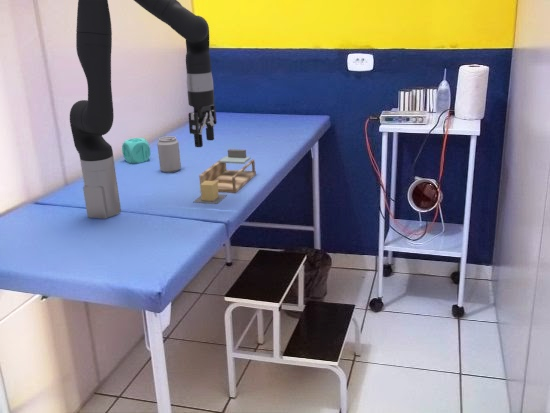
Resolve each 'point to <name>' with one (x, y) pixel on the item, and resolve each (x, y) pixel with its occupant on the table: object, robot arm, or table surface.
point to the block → (209, 190)
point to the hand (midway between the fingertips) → (204, 143)
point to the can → (169, 154)
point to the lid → (235, 157)
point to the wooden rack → (228, 176)
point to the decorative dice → (136, 150)
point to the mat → (210, 201)
